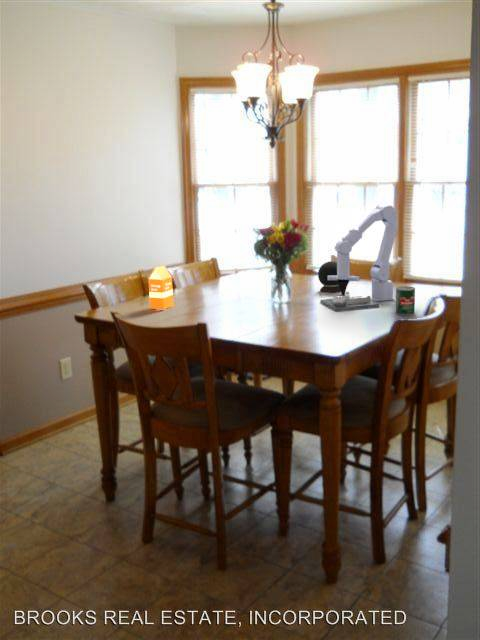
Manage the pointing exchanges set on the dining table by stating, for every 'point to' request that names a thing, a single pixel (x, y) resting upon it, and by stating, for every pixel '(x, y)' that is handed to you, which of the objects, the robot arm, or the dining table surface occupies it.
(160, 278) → the orange juice
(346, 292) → the leg
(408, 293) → the canned tomato
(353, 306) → the bolt plate
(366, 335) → the dining table surface
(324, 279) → the black ball on base
